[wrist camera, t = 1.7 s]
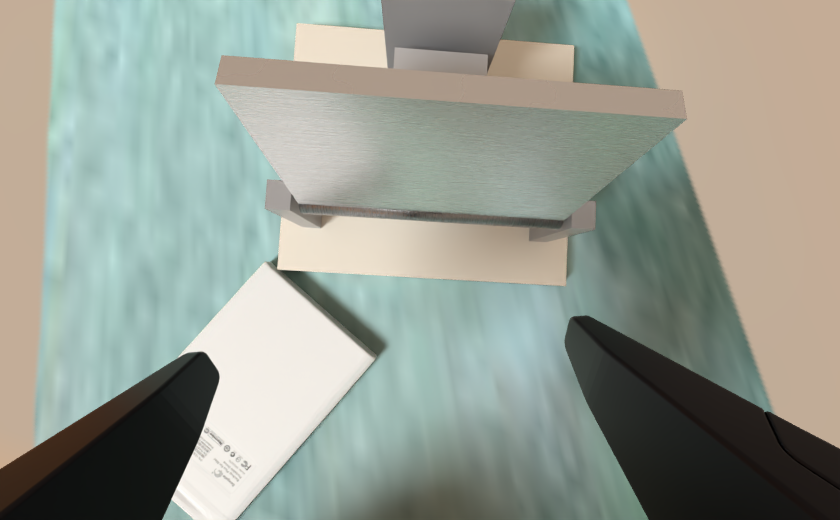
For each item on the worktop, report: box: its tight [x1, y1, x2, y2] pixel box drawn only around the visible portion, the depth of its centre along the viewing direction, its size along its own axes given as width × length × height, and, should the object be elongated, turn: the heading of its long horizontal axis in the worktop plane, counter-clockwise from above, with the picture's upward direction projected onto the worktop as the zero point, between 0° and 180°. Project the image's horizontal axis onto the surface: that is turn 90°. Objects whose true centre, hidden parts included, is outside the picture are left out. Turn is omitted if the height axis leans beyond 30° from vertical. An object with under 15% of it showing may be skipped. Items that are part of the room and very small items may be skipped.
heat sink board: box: [265, 0, 596, 286], centre depth 17 cm, size 14×16×8 cm
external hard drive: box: [172, 262, 377, 520], centre depth 19 cm, size 2×8×12 cm
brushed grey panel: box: [215, 55, 687, 230], centre depth 12 cm, size 1×11×8 cm, turn 87°
